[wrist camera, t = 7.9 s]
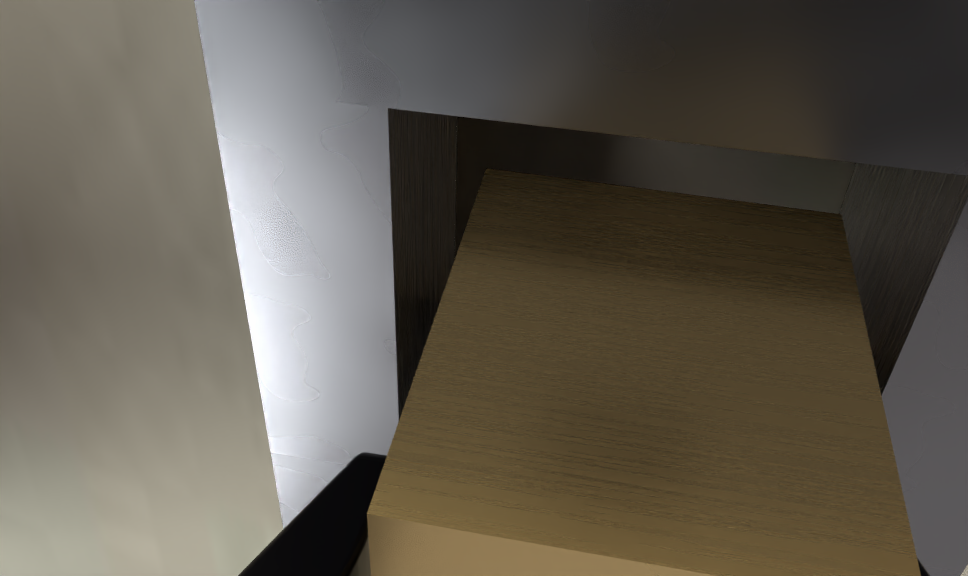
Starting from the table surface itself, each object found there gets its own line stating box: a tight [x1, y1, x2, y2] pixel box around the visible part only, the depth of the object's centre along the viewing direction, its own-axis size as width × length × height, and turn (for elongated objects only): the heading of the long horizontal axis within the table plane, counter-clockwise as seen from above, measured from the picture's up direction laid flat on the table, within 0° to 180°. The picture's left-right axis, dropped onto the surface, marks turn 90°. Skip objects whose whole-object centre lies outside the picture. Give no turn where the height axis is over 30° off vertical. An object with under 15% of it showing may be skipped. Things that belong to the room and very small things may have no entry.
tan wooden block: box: [367, 168, 921, 576], centre depth 10 cm, size 4×4×5 cm
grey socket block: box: [194, 0, 968, 576], centre depth 13 cm, size 10×16×4 cm, turn 179°
